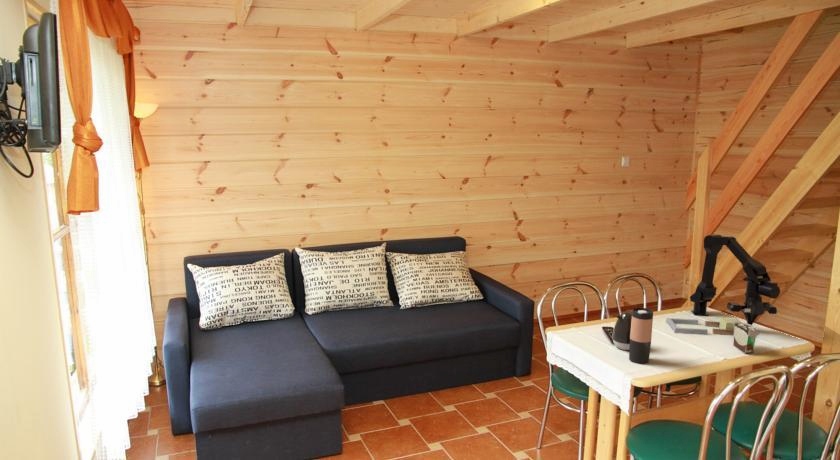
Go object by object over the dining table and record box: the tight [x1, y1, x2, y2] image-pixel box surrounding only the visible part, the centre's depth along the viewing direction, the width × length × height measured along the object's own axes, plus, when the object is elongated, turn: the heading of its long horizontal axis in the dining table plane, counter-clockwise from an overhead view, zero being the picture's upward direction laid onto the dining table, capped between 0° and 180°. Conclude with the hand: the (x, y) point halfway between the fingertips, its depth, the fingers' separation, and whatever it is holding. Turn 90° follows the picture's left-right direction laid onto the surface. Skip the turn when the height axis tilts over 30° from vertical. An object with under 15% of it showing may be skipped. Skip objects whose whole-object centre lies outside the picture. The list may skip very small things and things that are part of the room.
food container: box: [732, 321, 759, 355], centre depth 238 cm, size 12×6×10 cm, turn 179°
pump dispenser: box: [611, 311, 632, 351], centre depth 238 cm, size 10×10×15 cm
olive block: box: [718, 317, 743, 330], centre depth 262 cm, size 7×7×5 cm
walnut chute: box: [704, 320, 734, 336], centre depth 262 cm, size 12×16×2 cm
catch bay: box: [665, 317, 709, 336], centre depth 265 cm, size 15×14×2 cm
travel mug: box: [628, 307, 654, 365], centre depth 225 cm, size 8×8×20 cm
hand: (749, 326), depth 261 cm, fingers closed
